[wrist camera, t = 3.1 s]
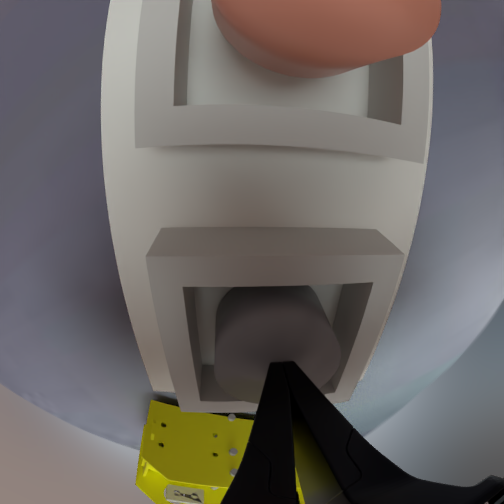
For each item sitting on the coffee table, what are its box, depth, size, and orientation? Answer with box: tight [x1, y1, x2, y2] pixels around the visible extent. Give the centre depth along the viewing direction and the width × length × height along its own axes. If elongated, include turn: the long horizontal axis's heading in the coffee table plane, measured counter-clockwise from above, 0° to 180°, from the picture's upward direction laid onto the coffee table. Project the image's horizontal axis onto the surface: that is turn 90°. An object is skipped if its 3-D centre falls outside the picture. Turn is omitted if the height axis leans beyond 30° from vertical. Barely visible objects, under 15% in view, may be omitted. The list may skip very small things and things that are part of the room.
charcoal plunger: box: [214, 285, 341, 404], centre depth 10 cm, size 4×4×3 cm
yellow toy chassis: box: [135, 400, 305, 504], centre depth 17 cm, size 16×6×8 cm, turn 67°
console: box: [101, 0, 433, 413], centre depth 10 cm, size 12×22×5 cm, turn 178°
